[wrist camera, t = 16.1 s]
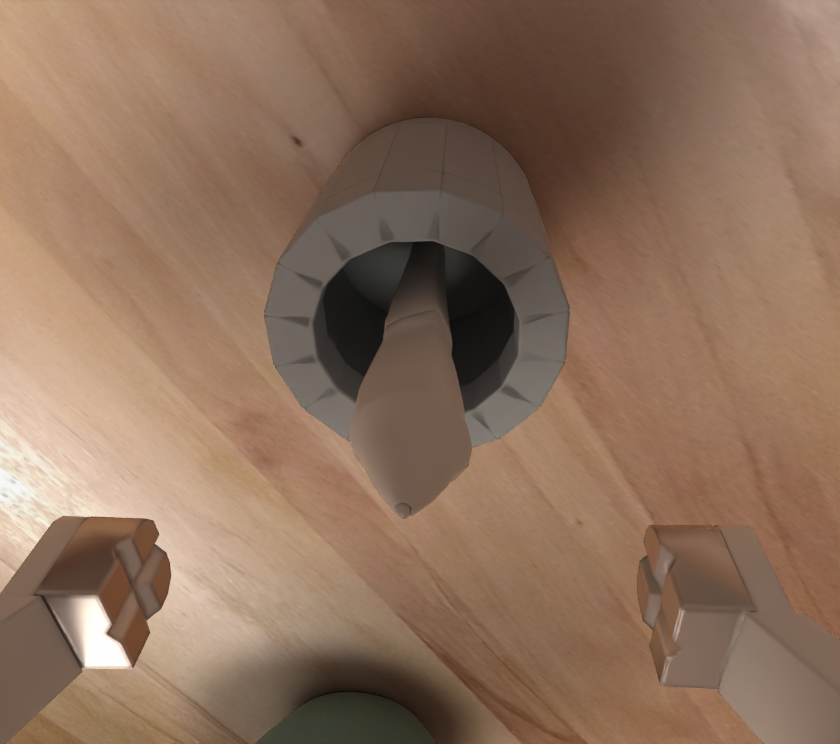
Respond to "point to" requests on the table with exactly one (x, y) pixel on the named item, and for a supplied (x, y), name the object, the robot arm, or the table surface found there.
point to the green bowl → (349, 722)
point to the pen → (413, 394)
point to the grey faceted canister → (386, 260)
